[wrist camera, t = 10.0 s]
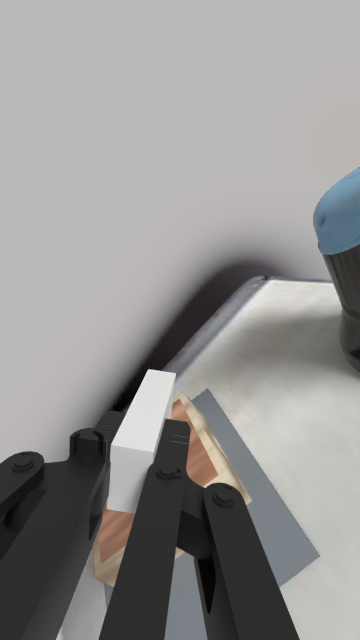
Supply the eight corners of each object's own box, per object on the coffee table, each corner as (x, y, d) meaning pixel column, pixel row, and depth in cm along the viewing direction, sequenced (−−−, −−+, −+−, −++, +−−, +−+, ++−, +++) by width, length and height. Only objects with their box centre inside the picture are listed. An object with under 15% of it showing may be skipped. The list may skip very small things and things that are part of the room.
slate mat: (319, 555, 32) (318, 554, 31) (119, 709, 31) (116, 709, 31) (208, 389, 56) (207, 388, 56) (95, 474, 55) (93, 473, 55)
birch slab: (229, 476, 35) (182, 390, 49) (94, 577, 35) (85, 462, 49) (252, 500, 38) (202, 413, 52) (128, 594, 38) (111, 481, 52)
